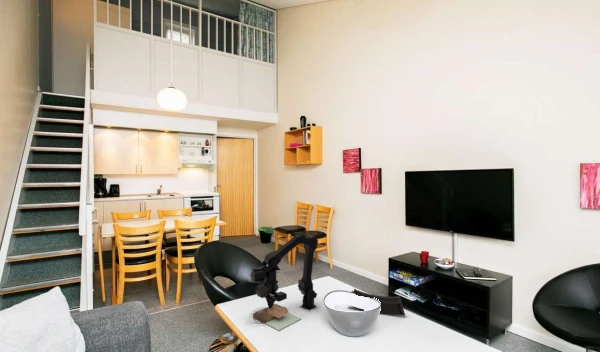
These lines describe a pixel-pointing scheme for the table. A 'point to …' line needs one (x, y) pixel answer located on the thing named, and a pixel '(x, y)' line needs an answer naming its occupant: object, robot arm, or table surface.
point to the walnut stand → (265, 314)
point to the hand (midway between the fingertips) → (270, 308)
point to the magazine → (386, 303)
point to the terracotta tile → (276, 311)
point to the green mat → (283, 321)
